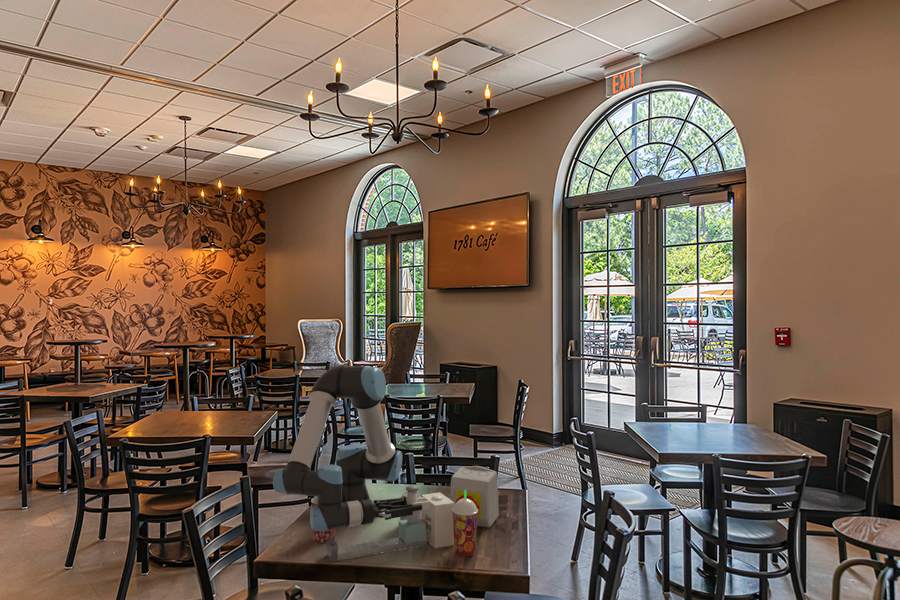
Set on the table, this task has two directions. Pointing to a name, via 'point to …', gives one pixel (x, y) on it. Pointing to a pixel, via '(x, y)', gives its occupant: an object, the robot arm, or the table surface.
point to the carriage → (412, 521)
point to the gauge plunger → (427, 522)
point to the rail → (367, 548)
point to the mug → (322, 535)
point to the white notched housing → (439, 520)
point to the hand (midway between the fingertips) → (427, 503)
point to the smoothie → (465, 526)
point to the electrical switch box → (477, 491)
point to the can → (417, 511)
